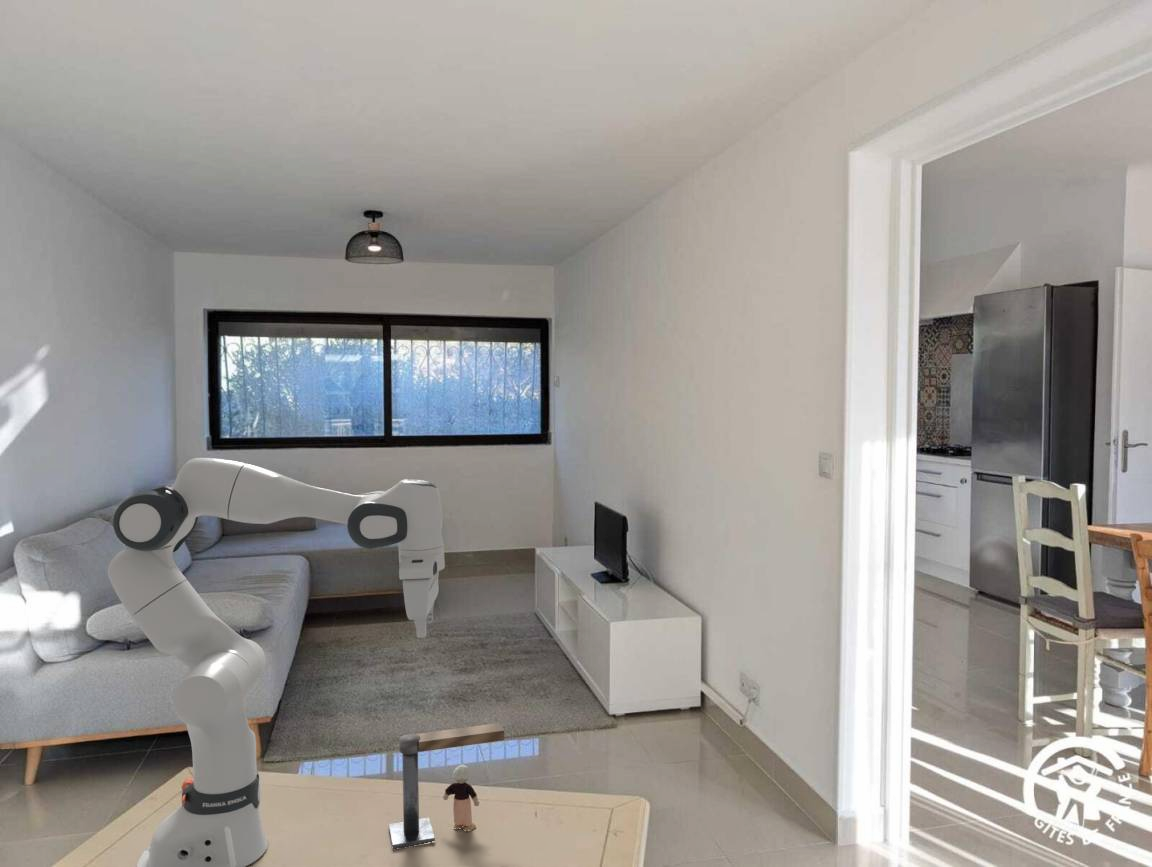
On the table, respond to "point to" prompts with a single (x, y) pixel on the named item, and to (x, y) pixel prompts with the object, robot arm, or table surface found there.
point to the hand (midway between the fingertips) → (425, 629)
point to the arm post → (411, 810)
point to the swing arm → (451, 738)
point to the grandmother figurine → (462, 798)
